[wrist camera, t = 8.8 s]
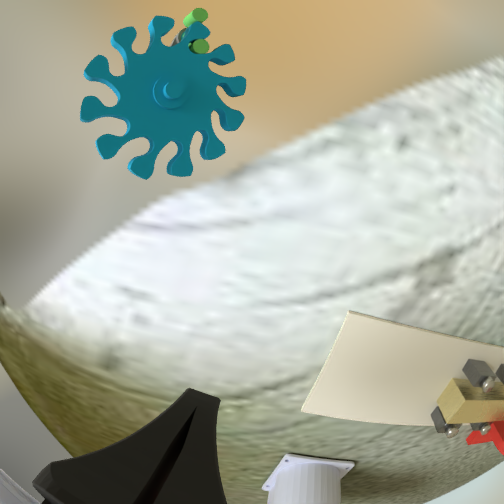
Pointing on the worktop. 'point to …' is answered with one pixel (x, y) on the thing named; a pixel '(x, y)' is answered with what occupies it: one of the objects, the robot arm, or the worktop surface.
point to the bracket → (490, 436)
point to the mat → (391, 371)
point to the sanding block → (471, 403)
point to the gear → (166, 94)
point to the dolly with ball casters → (478, 377)
